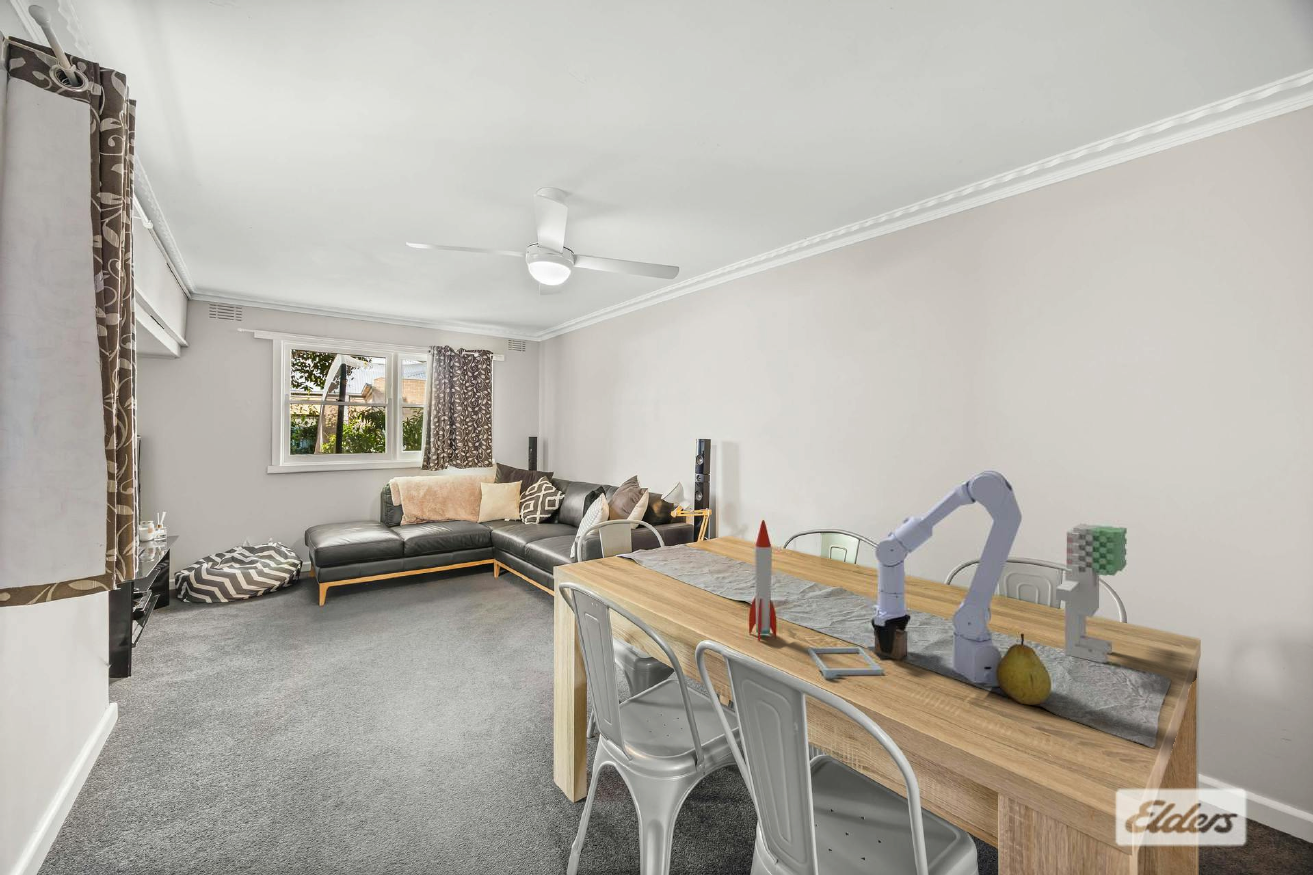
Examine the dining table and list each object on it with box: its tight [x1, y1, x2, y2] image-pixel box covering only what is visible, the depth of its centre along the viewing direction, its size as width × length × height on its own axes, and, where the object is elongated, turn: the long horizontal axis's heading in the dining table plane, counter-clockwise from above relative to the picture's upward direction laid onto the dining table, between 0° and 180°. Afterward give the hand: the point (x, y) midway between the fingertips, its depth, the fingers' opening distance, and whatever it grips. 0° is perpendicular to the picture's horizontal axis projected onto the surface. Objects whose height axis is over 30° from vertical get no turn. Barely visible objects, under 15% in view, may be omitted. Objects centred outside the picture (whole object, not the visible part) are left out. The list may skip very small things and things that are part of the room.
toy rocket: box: [748, 519, 778, 642], centre depth 141 cm, size 6×6×30 cm
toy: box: [1055, 523, 1127, 664], centre depth 129 cm, size 30×10×30 cm, turn 134°
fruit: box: [996, 633, 1052, 706], centre depth 108 cm, size 9×9×12 cm
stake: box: [867, 633, 917, 661], centre depth 127 cm, size 8×8×7 cm
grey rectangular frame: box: [807, 646, 883, 680], centre depth 122 cm, size 12×12×2 cm
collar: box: [873, 629, 908, 661], centre depth 128 cm, size 5×6×5 cm
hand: (891, 648), depth 127 cm, fingers closed on collar, 5 cm apart
